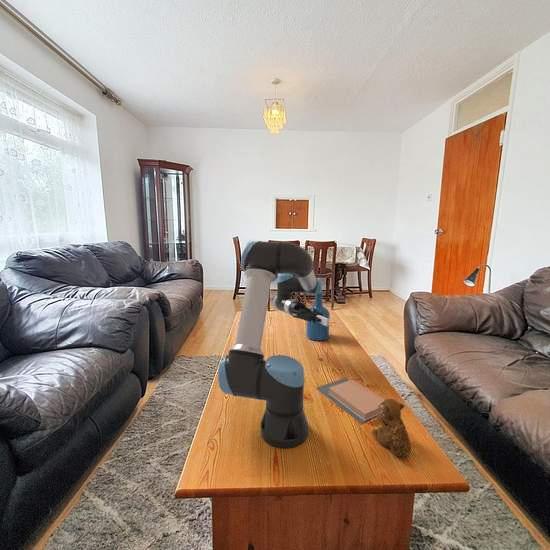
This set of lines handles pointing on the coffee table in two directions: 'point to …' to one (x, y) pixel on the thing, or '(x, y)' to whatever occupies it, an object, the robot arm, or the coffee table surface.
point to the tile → (357, 399)
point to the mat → (325, 391)
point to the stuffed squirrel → (392, 429)
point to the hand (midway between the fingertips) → (327, 322)
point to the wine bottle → (317, 329)
